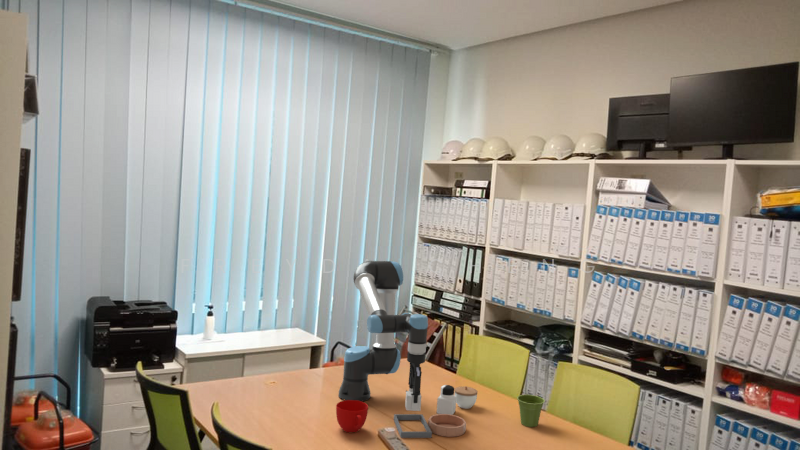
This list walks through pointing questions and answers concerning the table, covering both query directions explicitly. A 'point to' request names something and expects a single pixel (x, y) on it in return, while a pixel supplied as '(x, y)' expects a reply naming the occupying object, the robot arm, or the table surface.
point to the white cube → (409, 400)
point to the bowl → (447, 425)
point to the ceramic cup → (351, 415)
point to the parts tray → (412, 434)
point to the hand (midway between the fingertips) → (412, 406)
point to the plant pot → (530, 409)
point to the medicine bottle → (446, 400)
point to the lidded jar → (465, 396)
